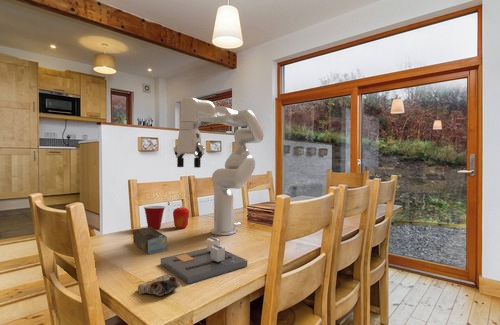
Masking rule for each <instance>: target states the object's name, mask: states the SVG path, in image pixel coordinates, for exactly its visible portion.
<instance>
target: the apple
mask: <svg viewBox="0 0 500 325" xmlns="http://www.w3.org/2000/svg"><path fill="white" fill-rule="evenodd" d="M172 215H173V216H172V217H173V222H174V227H175V228H176V229H178V230H180V229H186V227H187V226H188V224H189V219H190V218H189V217H190V210H189V208H187V207H182V206H180V207H177V208H175V209H173V212H172Z"/></svg>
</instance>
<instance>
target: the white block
mask: <svg viewBox="0 0 500 325" xmlns="http://www.w3.org/2000/svg"><path fill="white" fill-rule="evenodd" d="M225 251H226V248H225V247H223V246H222V245H220V246H219V245H216V244H214V246H212V247H211V259H213V260H215V261H216V262H218V261H222V260H225Z"/></svg>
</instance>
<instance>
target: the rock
mask: <svg viewBox="0 0 500 325" xmlns="http://www.w3.org/2000/svg"><path fill="white" fill-rule="evenodd" d="M180 286H181V283H180V282H179V280H178V277H177V276H176V275H168V274H163V275H161V276H158V277H156V278H154V279H152V280H149V281H146V282H144V283H140V284H139V285H138V286H137V291H138V293H139V295H145V294H150V295H156V296H159V297H161V296H165V295H167V294H169V293H170V292H173V291H175V290H177V289H178V288H180ZM164 294H165V295H164Z"/></svg>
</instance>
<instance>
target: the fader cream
mask: <svg viewBox="0 0 500 325" xmlns="http://www.w3.org/2000/svg"><path fill="white" fill-rule="evenodd" d="M220 243H221V240H220V239H219V238H216V237H213V236H209V238H206V248H207V250H209V251H211V247H212V246H214V244H216V245H219V246H221V244H220Z"/></svg>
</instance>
